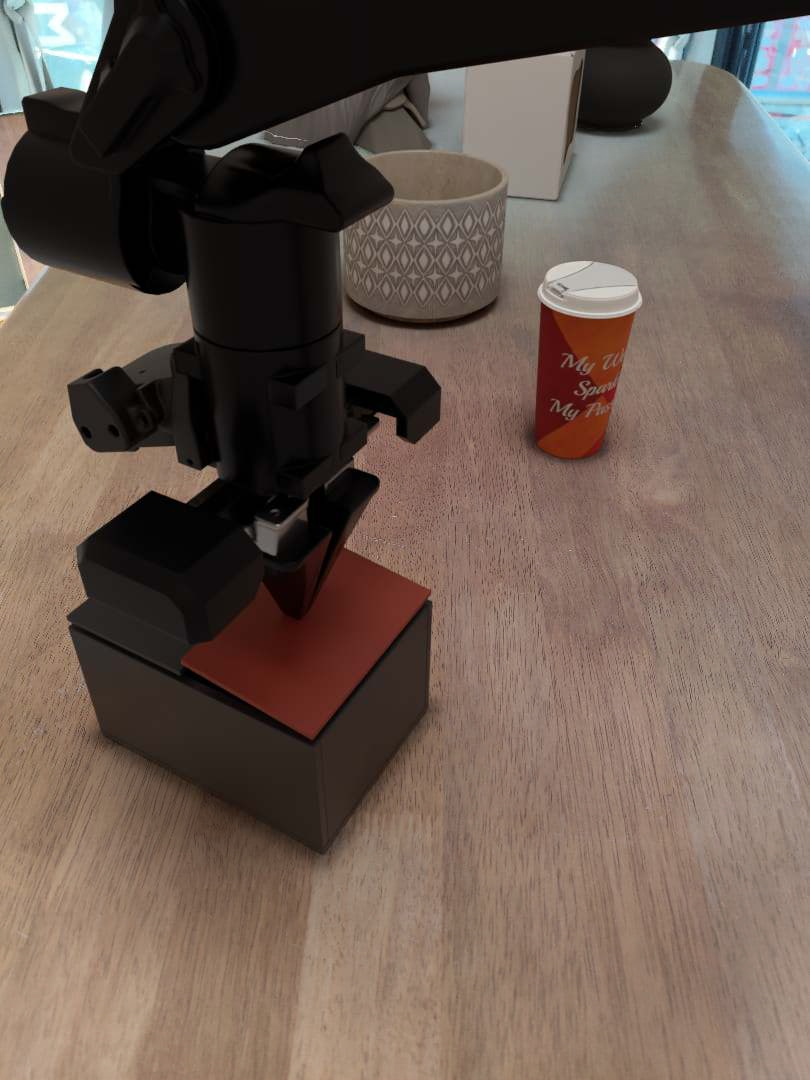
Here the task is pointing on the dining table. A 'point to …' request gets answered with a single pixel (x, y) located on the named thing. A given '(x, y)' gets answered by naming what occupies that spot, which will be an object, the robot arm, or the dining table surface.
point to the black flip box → (251, 723)
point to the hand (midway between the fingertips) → (296, 612)
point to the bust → (368, 118)
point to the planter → (430, 238)
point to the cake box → (525, 119)
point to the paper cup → (581, 353)
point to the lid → (311, 643)
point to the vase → (623, 85)
